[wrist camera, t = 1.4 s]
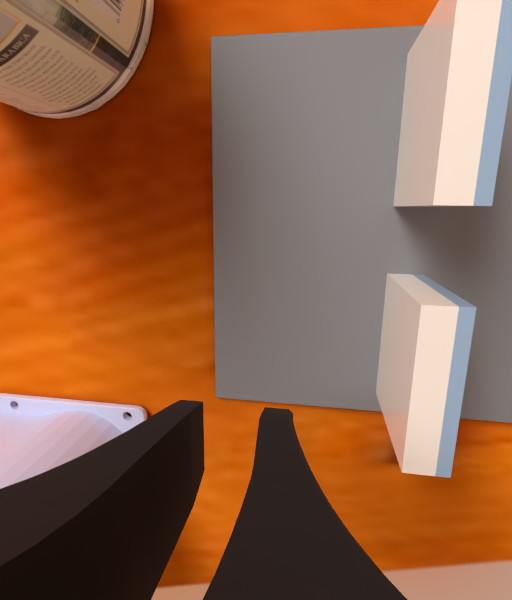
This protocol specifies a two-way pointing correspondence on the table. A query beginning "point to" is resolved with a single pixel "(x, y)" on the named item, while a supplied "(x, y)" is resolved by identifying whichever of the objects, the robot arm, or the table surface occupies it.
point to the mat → (337, 224)
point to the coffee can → (69, 52)
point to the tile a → (423, 371)
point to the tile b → (455, 105)
